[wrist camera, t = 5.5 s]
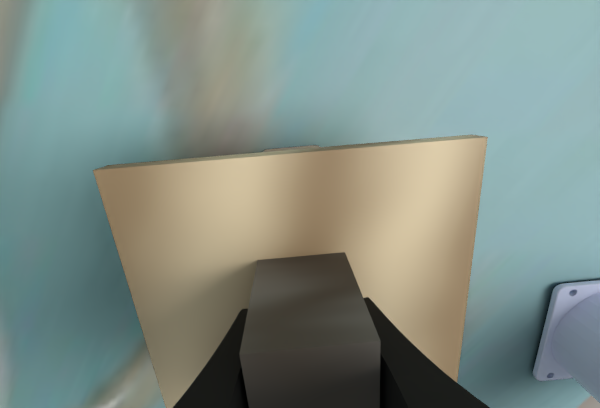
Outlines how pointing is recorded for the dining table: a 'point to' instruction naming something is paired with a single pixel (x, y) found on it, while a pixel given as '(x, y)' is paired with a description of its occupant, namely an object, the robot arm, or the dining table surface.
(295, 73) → the dining table surface
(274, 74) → the dining table surface
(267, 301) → the lid
